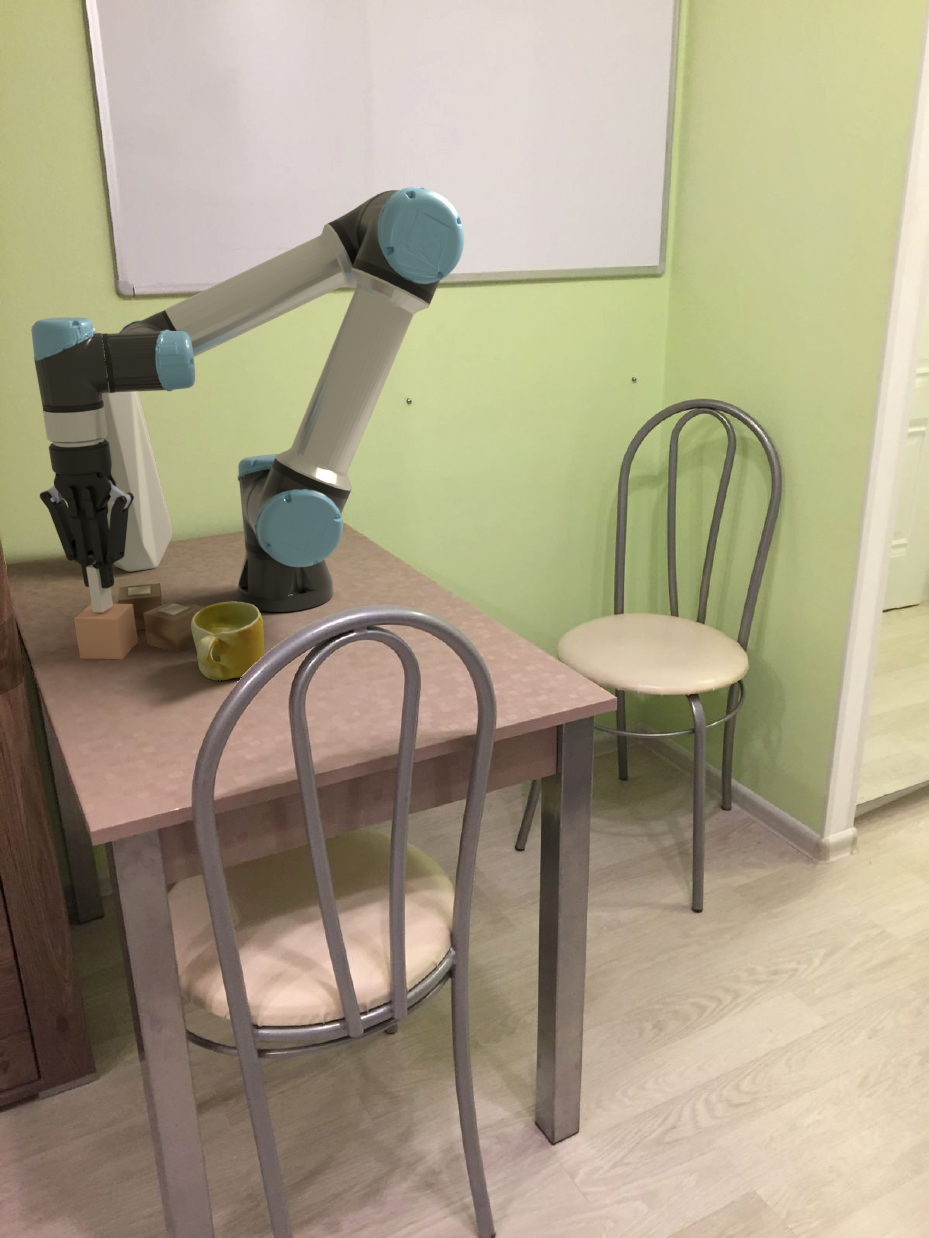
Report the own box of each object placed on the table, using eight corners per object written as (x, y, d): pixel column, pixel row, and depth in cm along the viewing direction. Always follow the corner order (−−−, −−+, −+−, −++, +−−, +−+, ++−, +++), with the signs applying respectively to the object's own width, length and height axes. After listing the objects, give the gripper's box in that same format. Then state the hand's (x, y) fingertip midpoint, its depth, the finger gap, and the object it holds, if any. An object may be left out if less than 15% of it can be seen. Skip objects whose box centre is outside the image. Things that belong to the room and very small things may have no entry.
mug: (216, 634, 144) (220, 579, 137) (277, 664, 141) (284, 610, 135) (161, 682, 134) (162, 626, 128) (225, 715, 132) (230, 659, 126)
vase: (185, 555, 184) (164, 371, 172) (159, 576, 174) (134, 381, 161) (122, 553, 186) (97, 370, 174) (92, 573, 175) (63, 380, 163)
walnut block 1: (163, 613, 157) (159, 582, 155) (164, 627, 152) (160, 594, 150) (123, 617, 156) (118, 585, 154) (122, 631, 150) (117, 598, 148)
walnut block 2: (208, 638, 147) (204, 605, 146) (178, 653, 143) (174, 619, 141) (177, 631, 150) (173, 598, 148) (147, 645, 145) (143, 611, 143)
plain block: (137, 642, 146) (132, 603, 144) (122, 659, 141) (116, 619, 138) (97, 642, 147) (91, 603, 144) (80, 658, 141) (74, 618, 139)
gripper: (138, 437, 135) (158, 603, 143) (51, 433, 137) (77, 596, 146) (107, 448, 128) (130, 622, 136) (16, 444, 131) (45, 614, 139)
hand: (103, 608), depth 141 cm, fingers closed
